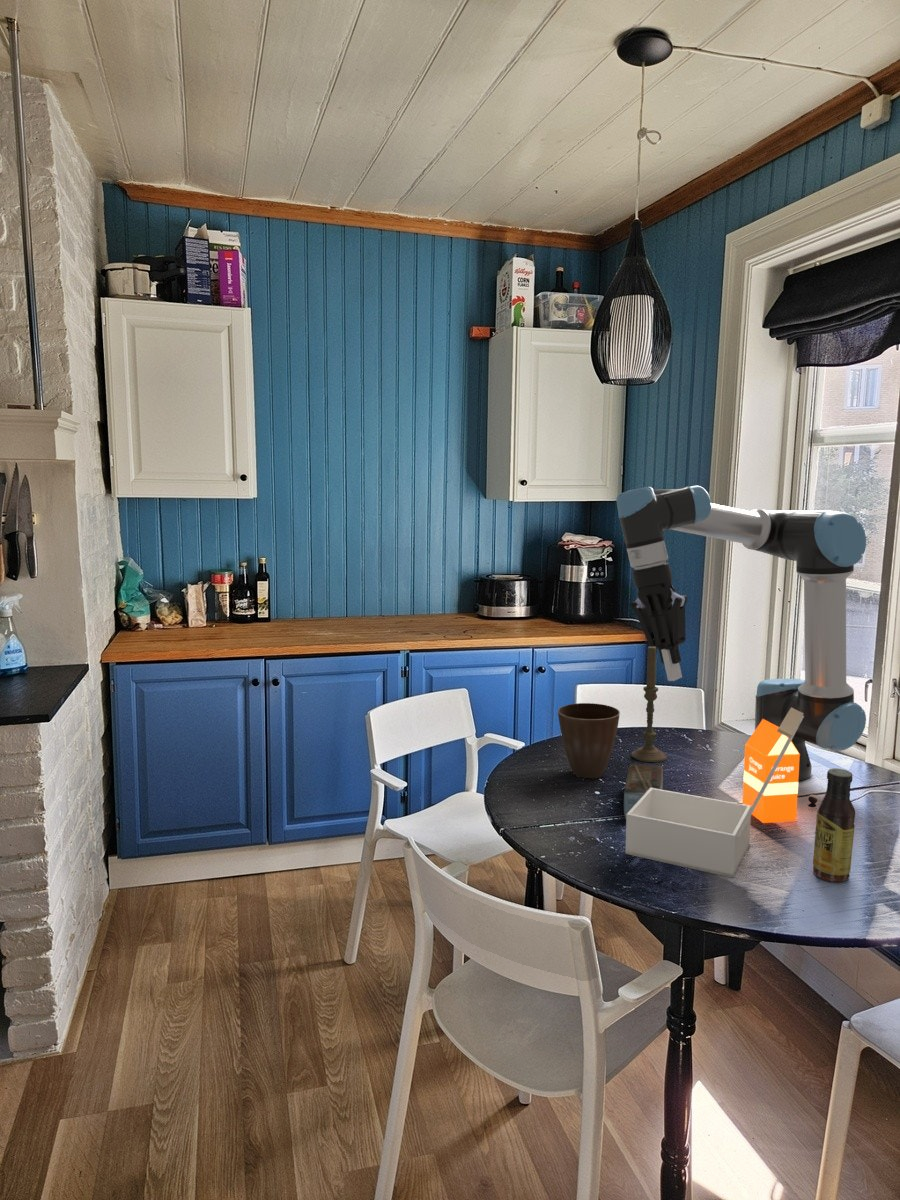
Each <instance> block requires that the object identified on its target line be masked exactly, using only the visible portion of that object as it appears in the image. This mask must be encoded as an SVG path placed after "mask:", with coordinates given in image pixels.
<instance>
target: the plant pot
mask: <svg viewBox="0 0 900 1200" xmlns="http://www.w3.org/2000/svg"><path fill="white" fill-rule="evenodd" d="M557 714H558V715H557V716H558V722H559V723H558V724H559V730H560V733H561V734H560V735H561V738H562V743H563V747H564V750H565V754H566V758H567V760H568V763H569V766H570V770H571V771H572V774H573V773H574V774H575V775H576V777H577V776H578V777H577V778H580V777H582V778H581V779H586V778H590V779H589V780H591V778H592V779H598V778H601V777H603V776H604V774H605V773H606V769H607V766H608V764H609V761H610V758H611V755H612V753H613V748H614V745H615V743H616V742H615V741H616V736H617V732H618V727H619V721H620V714H621V712H620V710H619V709H618V708H616V707H614V706H611V705H608V704H601V703H591V702H589V703H587V702H585V703H584V702H581V703H580V702H579V703H569V704H565V705H563V706H560V707H559V708H558V709H557ZM574 774H573V775H574ZM575 775H574V776H575Z"/></svg>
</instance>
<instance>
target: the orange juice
mask: <svg viewBox="0 0 900 1200" xmlns="http://www.w3.org/2000/svg"><path fill="white" fill-rule="evenodd" d="M778 728H779V727H778V726H776V725H774V724H772V723H770V722H768V721H766V720H764V719H763V720H762V721H761V723H760V724H759V725H758V727H757V728H756V730H755V729H754V731H753V732H752V734H751V736H750V737H749V739H748V740H747V742H746V743H745V744H744V760H743V762H744V764H743V781H742V782H743V784H742V785H743V787H742V804H745V805H750V806H751V807H752V805H753V803H754V801H755V799H756V798H757V796H758V794H759V792H760V790H761V788H762V786H763V785H764V783H765V781H766V779H767V777H768V775H769V773H770V771H771V770H772V768H773V766H774V764H775V762H776V760H777V758H778V756H779V755H780V753H781V751H782V749H783V747H784V745H785V743H786V741H787V740H788V738H789V737H787V736H785V735H783V734H781V733H779V732H777V730H778ZM799 758H800V754H799V752H798V751H797V749H796V748H795V746H794V744H793V743H792V741H791V742H790V744H789V746H788V748H787V750H786V751H785V753H784V755H783V757H782V759H781V761H780V763H779V765H778V766H777V768H776V770H775V772H774V774H773V776H772V778H771V779H770V781H769V783H768V785H767V787H766V789H765V791H764V792H763V794H762V796H761V798H760V800H759V802H758V804H757V806H756V807H755V809H754V811H753V813H752V815H751V816H753V817H755V818H756V820H759V821H760V822H761V823H762V824H771V823H781V822H782V823H784V822H796V821H797V814H798V813H797V810H798V807H797V806H798V795H799V794H798V793H799V781H798V776H799Z"/></svg>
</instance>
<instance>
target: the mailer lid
mask: <svg viewBox="0 0 900 1200" xmlns="http://www.w3.org/2000/svg"><path fill="white" fill-rule="evenodd" d="M803 714H804V713H802V712H800V711H798V710H796V709H794V708H792V707H791V708H790V710H789V712H788V713H787V715H786V717H785V718H784V720H783V722H782V723H781V725H780V727H779V728H778V730H777V732H779V733H781V734H783V735H785V736H787V737H789V738H788V740H787V741H786V743H785V745H784V747H783V749H782V751H781V753H780V755H779V756H778V758H777V760H776V762H775V764H774V766H773V768H772V770H771V771H770V773H769V775H768V777H767V779H766V781H765V783H764V785H763V786H762V788H761V790H760V792H759V794H758V796H757V798H756V799H755V801H754V803H753V805H752V807H751V809H750V811H749V813H748V814H747V816H746V818H745V820H744V822H743V824H742V826H741V828H740V829H739V831H738V833H737V836H739V837H740V835H741V833H742V832H743V830H744V828H745V826H746V824H747V822H748V820H749V819H750V817H751V818H752V816H753V815H752V813H753V811H754V809H755V807H756V806H757V804H758V802H759V800H760V798H761V796H762V794H763V792H764V791H765V789H766V787H767V785H768V783H769V781H770V779H771V778H772V776H773V774H774V772H775V770H776V768H777V766H778V765H779V763H780V761H781V759H782V757H783V755H784V753H785V751H786V750H787V748H788V746H789V744H790V742H791V740H792V738H793V736H794V735H795V733H796V731H797V729H798V727H799V725H800V723H801V721H802V719H803V717H804V716H803Z"/></svg>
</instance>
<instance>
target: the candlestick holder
mask: <svg viewBox="0 0 900 1200" xmlns="http://www.w3.org/2000/svg"><path fill="white" fill-rule="evenodd" d="M646 659H647V660H646V661H647V662H646V663H647V664H646V685H645V686H643V688H642V689H643V690H642V691H644V692H645V693H644V695H643V697H644V699H645V700H646V701H647V703H646V708H645V711H646V728H645V730H644V731H643V732H642V738H643V739H644V740H645V744H644V745H643V746H640V747H639V748H637V749H635V750H633V751H631V753H630V756H631V758H632V757H633V758H635V759H637V760H636V761H638V760H640V761H639V762H642V761H643V763H649V762H653V764H655V763H662V762H665V761H666V760H667V758H668V756H667V754H666V753H665V752H663V751H662V750H660V749H659V748H658V747H655V745H654V741H655V740H656V737H657V732H655V731H654V727H653V724H654V712H655V705H654V701H655V700H657V699H658V694H657V692H658V691H659V688H658V687H657V686H656V673H657V672H656V671H657V670H656V668H657V665H656V664H657V647H654V646H652V647H651V646H650V645H649V646H648V647H647V658H646ZM633 758H632V759H633ZM635 759H634V760H635Z"/></svg>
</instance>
